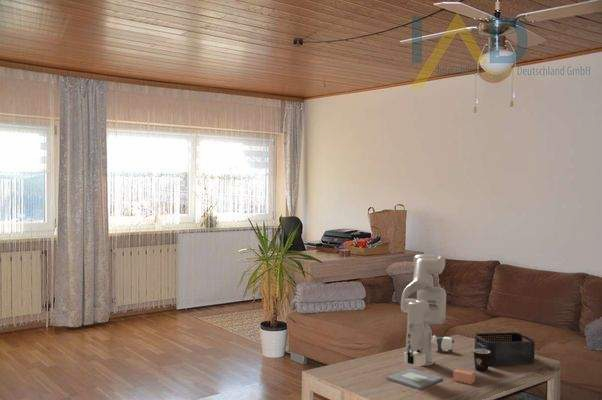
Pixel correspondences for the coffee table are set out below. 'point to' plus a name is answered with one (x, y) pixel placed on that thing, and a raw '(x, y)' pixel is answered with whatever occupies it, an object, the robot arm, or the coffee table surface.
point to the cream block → (416, 358)
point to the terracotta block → (464, 375)
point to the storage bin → (507, 348)
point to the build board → (414, 378)
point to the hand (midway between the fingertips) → (414, 361)
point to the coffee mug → (482, 359)
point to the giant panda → (443, 343)
